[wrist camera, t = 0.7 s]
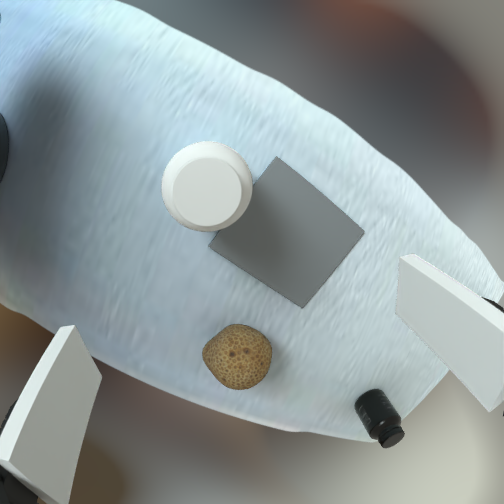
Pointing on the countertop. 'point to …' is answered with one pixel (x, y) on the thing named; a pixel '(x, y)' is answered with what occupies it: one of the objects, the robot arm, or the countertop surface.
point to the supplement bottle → (379, 418)
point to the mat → (288, 234)
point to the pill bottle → (206, 186)
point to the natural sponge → (238, 356)
